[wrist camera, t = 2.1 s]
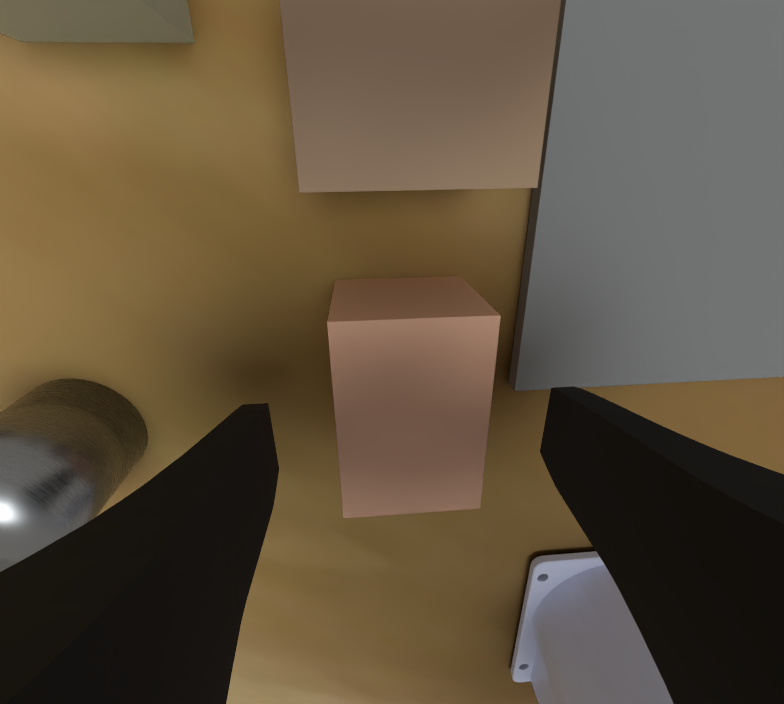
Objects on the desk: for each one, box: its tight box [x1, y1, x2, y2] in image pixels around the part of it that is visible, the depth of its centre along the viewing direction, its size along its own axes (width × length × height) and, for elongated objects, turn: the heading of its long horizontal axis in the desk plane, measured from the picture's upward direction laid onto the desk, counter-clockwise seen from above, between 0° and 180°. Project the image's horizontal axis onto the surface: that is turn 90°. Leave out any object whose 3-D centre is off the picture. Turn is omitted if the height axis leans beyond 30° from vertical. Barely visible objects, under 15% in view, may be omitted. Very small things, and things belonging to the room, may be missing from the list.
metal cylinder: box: [0, 379, 148, 572], centre depth 12 cm, size 4×4×4 cm
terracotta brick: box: [327, 276, 501, 518], centre depth 12 cm, size 6×4×4 cm, turn 0°
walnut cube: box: [279, 0, 561, 193], centre depth 9 cm, size 4×4×4 cm
